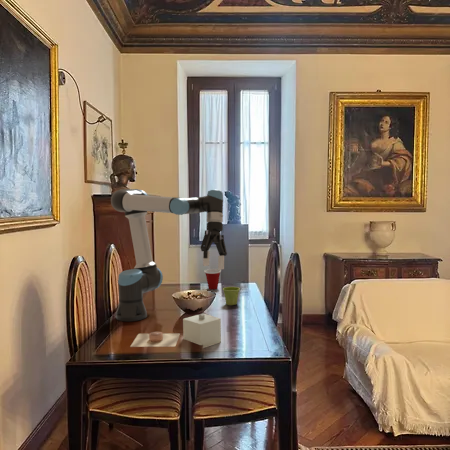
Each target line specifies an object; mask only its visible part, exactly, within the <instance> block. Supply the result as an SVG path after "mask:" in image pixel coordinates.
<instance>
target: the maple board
mask: <svg viewBox="0 0 450 450" xmlns="http://www.w3.org/2000/svg"><path fill="white" fill-rule="evenodd" d="M149 334H150V333H138V334H137V335H136V337H135V338H134V340H133V342H132V343H131V345H130V346H129V347H130V348H140V347H142V348H144V347H145V348H146V347H147V348H153V347H154V348H159V347H160V348H162V347H163V348H164V347H167V348H168V347H172V348H173V347H174V348H175V347H176V345H177V344H178V340H179V338H180V335H181V333H163V340H162V341H160V342H151V341H149Z"/></svg>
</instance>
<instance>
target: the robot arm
mask: <svg viewBox="0 0 450 450" xmlns="http://www.w3.org/2000/svg"><path fill="white" fill-rule="evenodd" d="M110 204H111V206H112V208H113V209H114V210H115V211H117V212H120V213H124V217H125V218H127V219H128V222H129V229H130V234H131V239H132V240H131V241H132V245H133V250H134V257H135V266H134V267H133V268H130V269H126V270H123V271H121V272H120V273H119V274H118V279H117V283H118V285H117V286H118V306H117V308H116V312H115V319H116V320H117V321H119V322H138V321H142V320H144V319H146V318H147V317H148V314H147V313H148V312H147V309H146V306H145V303H144V296H143V294H145V293H148V292H153V291H155V290H156V289H158V288H159V287H160V286H161V285H162V283H163V279H164V278H163V277H164V276H163V272H162V271H161V270H160V268H159V267H158V266H157V263H156V262H154V261H153V260H154V259H153V256H152V255H153V254H152V250H151V248H152V247H151V245H150V244H151V243H150V242H151V241H150V238H149V232H148V226H147V220H146V219H147V218H146V216H147V214H148V212H154V213H155V212H156V213H163V214H164V213H165V214H166V213H167V214H174V215H178V216H182V215H189V214H191V215H195V214H199V213H206V230H204V235H203V239H202V241H201V245H200V250H201V252H203V259H202V260H203V262H202V266H203V267H209V266H210V257H211V255H210V254H211V253H210V252H211V251H210V248H211V246H212V244H213V243H214V245H215V247H216V249H217V253H218V258H217V261H218V262H217V269H218V270H221V271H222V270H225V256H228V252H227V248H226V243H225V238H224V237H225V235H224V234H221V232H223V228H224V225H223V224H224V223H223V222H224V221H223V219H224V214H223V213H224V211H223V210H224V207H223V206H224V193H223V192H222V190H220V189H210V190H208V191H207V194H206V195H205V196H197V197H173V196H172V197H171V196H160V195H148V193H147V192H146V191H144V190H142V189H137V188H132V189H131V188H129V189H127V188H126V189H124V188H122V189H118V190H116V191H114V192H113V193H112V195H111V197H110Z"/></svg>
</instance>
